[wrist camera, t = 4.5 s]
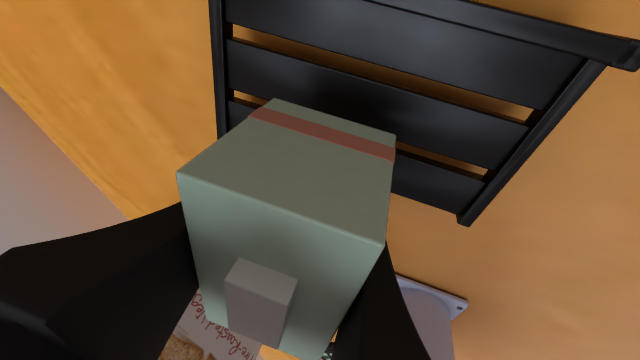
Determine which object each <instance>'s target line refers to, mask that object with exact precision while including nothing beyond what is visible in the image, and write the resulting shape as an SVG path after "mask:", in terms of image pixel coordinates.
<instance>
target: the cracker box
mask: <svg viewBox="0 0 640 360" xmlns="http://www.w3.org/2000/svg"><path fill="white" fill-rule="evenodd" d="M261 346H262V343H260V342H257V341H255V340H252V339H250V338H248V337H245V336H243V335H240V334H238V333H236V332H233V331H231V330H229V329H228V328H225V327H223V326H221V325H218V324H216V323H213V322H211V321H209V320H207V319H206V315H205V310H204V306H203V301H202V296H201V292H200V287H199V289H198V290H197V292H196V293H195V295H194V297H193V298H192V300H191V302H190V303H189V305H188V307H187V308H186V310H185V312H184V314H183V315H182V317H181V319H180V320H179V322H178V324H177V326H176V327H175V329H174V331H173V333H172V335H171V336H170V338H169V340H168V342H167V343H166V345H165V347H164V349H163V351H162V353H161V355H160V357H159V358H158V360H256V357H257V355H258V353H259V350H260V348H261Z"/></svg>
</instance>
